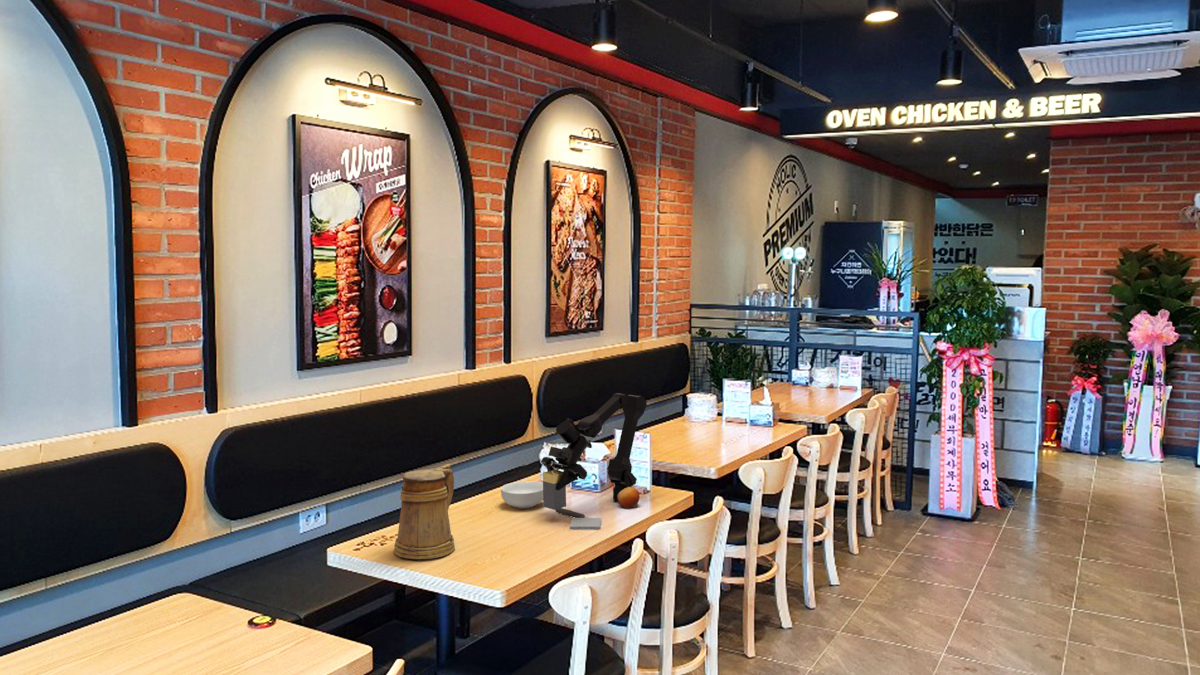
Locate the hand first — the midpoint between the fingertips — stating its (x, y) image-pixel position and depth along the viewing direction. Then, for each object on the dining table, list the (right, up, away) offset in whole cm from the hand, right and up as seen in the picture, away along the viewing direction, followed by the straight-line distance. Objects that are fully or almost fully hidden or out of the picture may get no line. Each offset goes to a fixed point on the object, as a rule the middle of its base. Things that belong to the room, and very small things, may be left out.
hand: (551, 488), depth 304 cm
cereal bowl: (-11, -10, +21) cm, 25 cm away
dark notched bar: (+6, -11, +7) cm, 14 cm away
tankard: (-36, -14, -27) cm, 48 cm away
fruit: (+27, -10, +18) cm, 34 cm away
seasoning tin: (+1, -7, +2) cm, 7 cm away
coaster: (+12, -12, -5) cm, 17 cm away
